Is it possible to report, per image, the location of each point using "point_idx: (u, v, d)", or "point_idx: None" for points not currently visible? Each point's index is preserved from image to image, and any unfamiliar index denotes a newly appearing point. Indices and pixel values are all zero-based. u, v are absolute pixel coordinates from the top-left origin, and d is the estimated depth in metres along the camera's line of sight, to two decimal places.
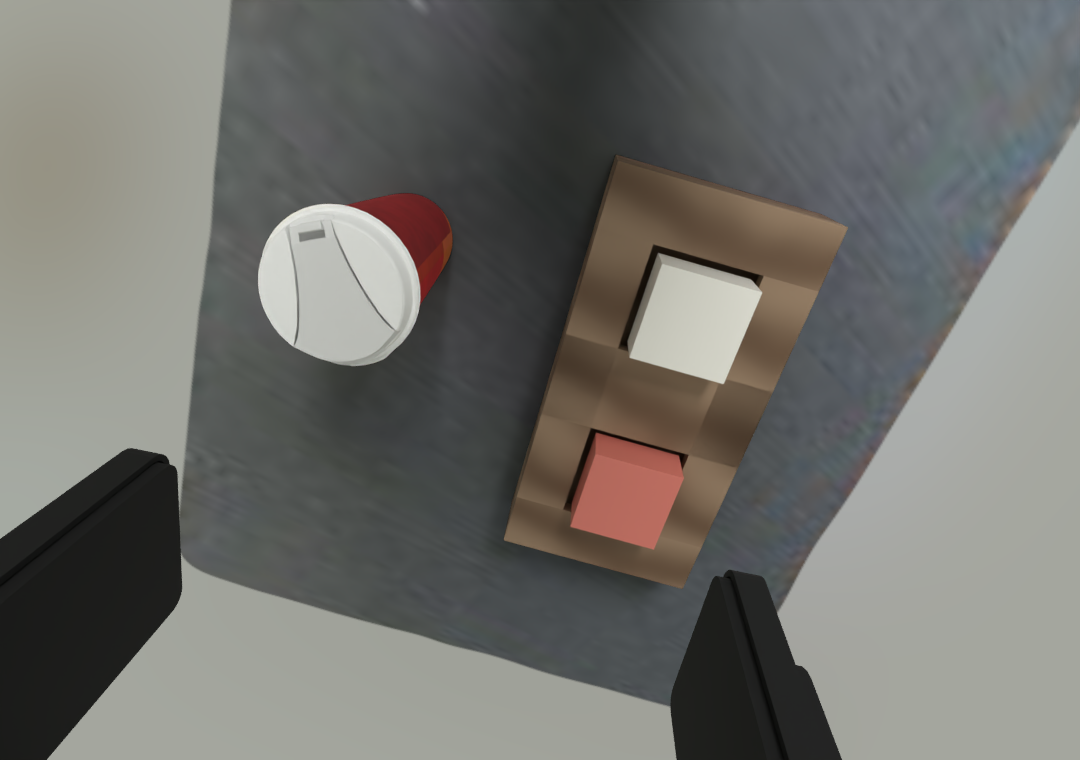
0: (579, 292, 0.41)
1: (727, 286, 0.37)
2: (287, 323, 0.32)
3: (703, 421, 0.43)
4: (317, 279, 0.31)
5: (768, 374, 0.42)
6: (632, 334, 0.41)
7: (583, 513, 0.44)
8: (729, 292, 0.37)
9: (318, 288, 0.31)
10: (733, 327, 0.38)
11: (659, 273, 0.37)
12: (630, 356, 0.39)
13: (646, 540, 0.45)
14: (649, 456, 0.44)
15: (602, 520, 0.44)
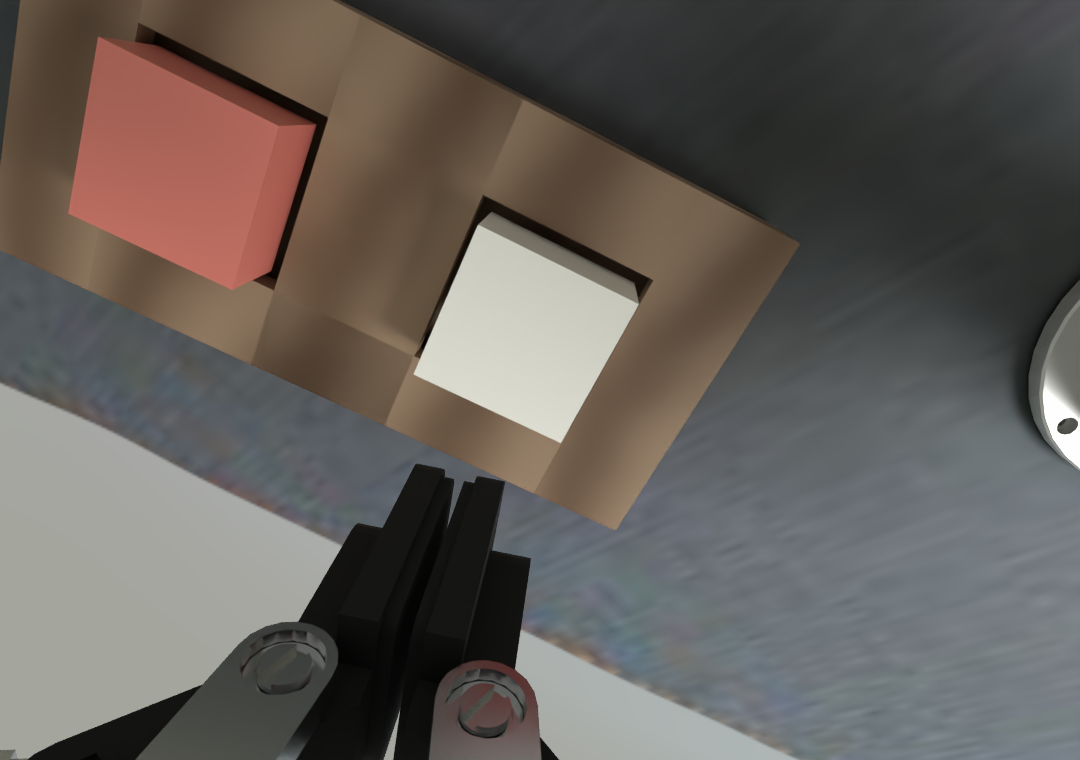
0: (597, 140, 0.22)
1: (579, 396, 0.23)
2: None
3: (337, 321, 0.26)
4: None
5: (414, 422, 0.27)
6: (509, 227, 0.23)
7: (136, 74, 0.21)
8: (569, 398, 0.24)
9: None
10: (510, 399, 0.24)
11: (623, 297, 0.22)
12: (480, 226, 0.21)
13: (88, 201, 0.22)
14: (271, 225, 0.24)
15: (123, 115, 0.21)
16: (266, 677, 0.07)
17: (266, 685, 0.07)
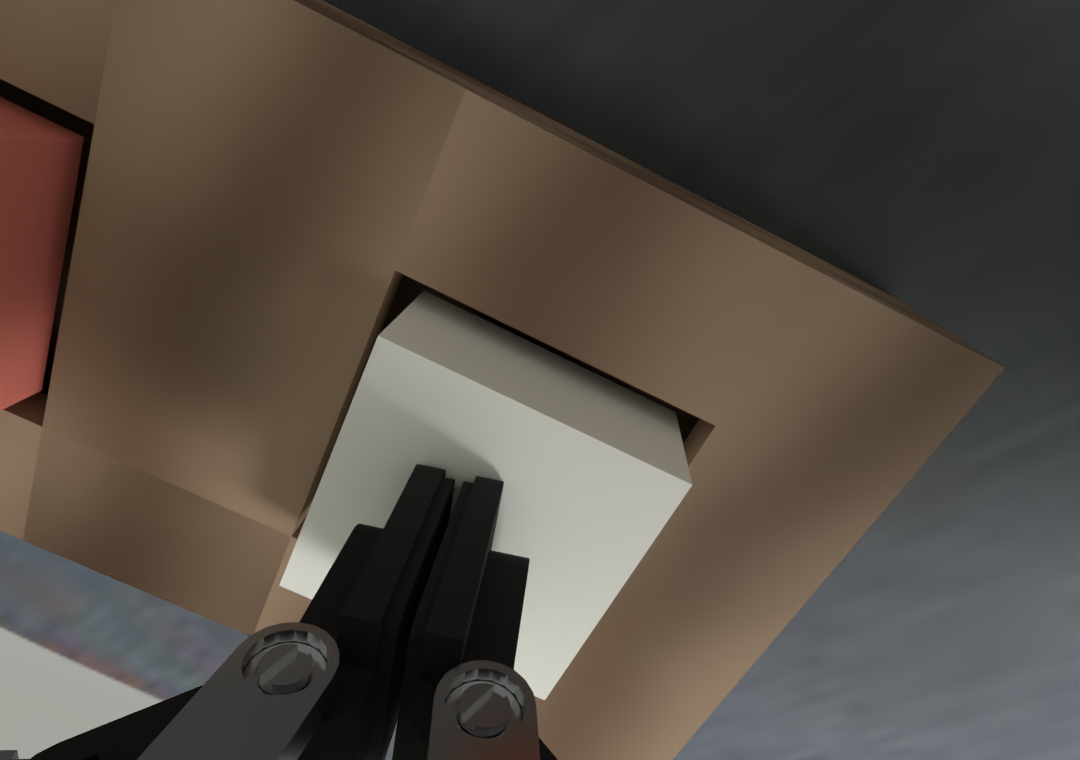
0: (613, 170, 0.11)
1: (577, 631, 0.13)
2: None
3: (156, 478, 0.15)
4: None
5: None
6: (450, 325, 0.13)
7: None
8: (559, 634, 0.13)
9: None
10: None
11: (661, 471, 0.11)
12: (382, 339, 0.11)
13: None
14: (5, 325, 0.13)
15: None
16: (267, 678, 0.07)
17: (267, 686, 0.07)
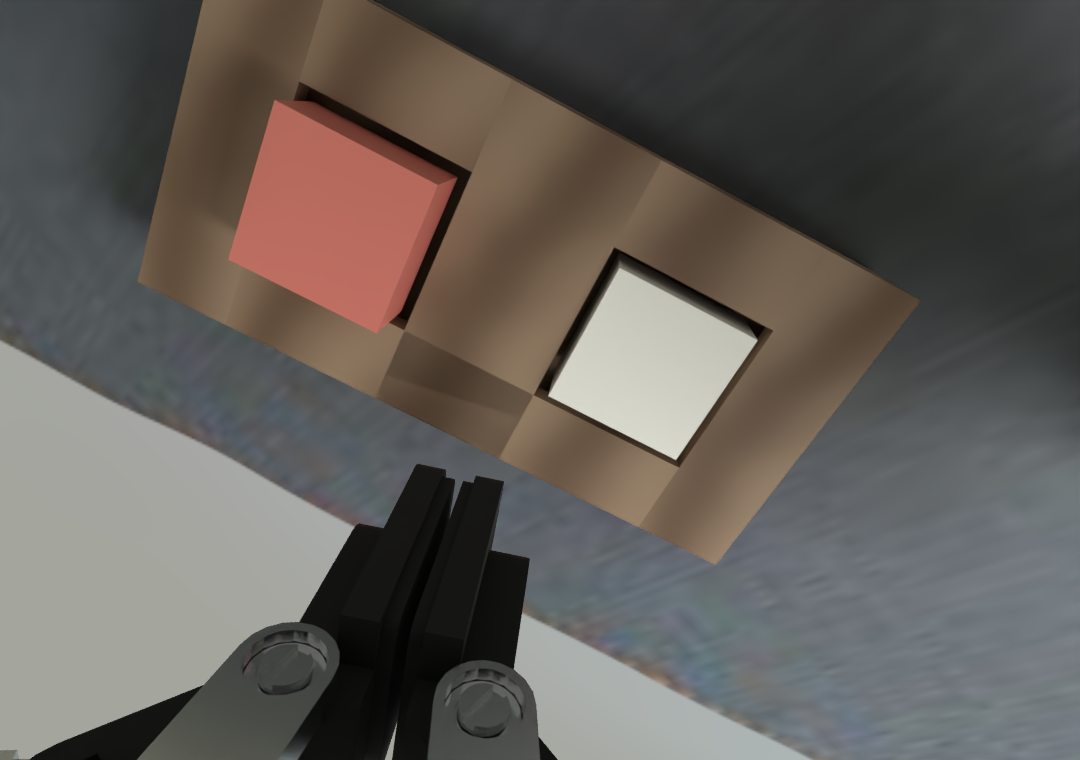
0: (730, 199, 0.24)
1: (696, 419, 0.26)
2: None
3: (462, 360, 0.27)
4: None
5: (528, 456, 0.28)
6: (638, 267, 0.26)
7: (306, 135, 0.22)
8: (687, 421, 0.26)
9: None
10: (634, 420, 0.27)
11: (743, 333, 0.25)
12: (621, 269, 0.24)
13: (248, 248, 0.24)
14: (411, 272, 0.25)
15: (290, 171, 0.22)
16: (268, 678, 0.07)
17: (268, 686, 0.07)
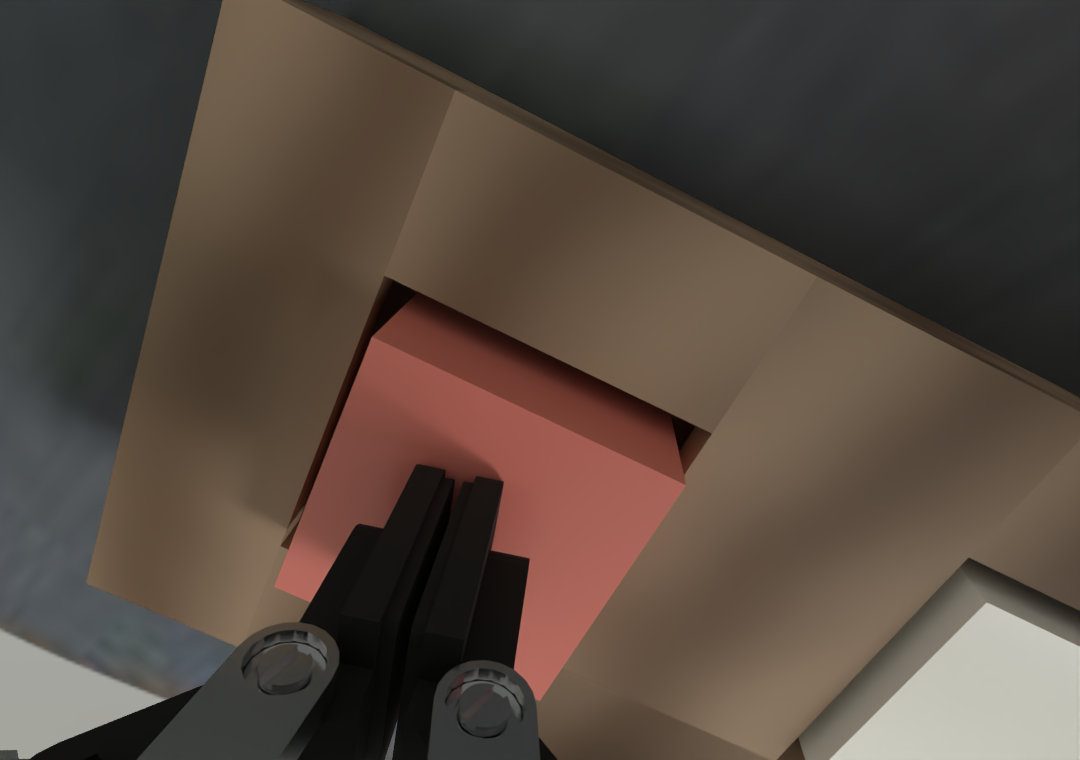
0: None
1: None
2: None
3: (655, 710, 0.16)
4: None
5: None
6: (975, 561, 0.15)
7: (432, 397, 0.11)
8: None
9: None
10: None
11: None
12: (988, 605, 0.13)
13: (312, 572, 0.13)
14: None
15: (397, 456, 0.12)
16: (267, 677, 0.07)
17: (267, 685, 0.07)
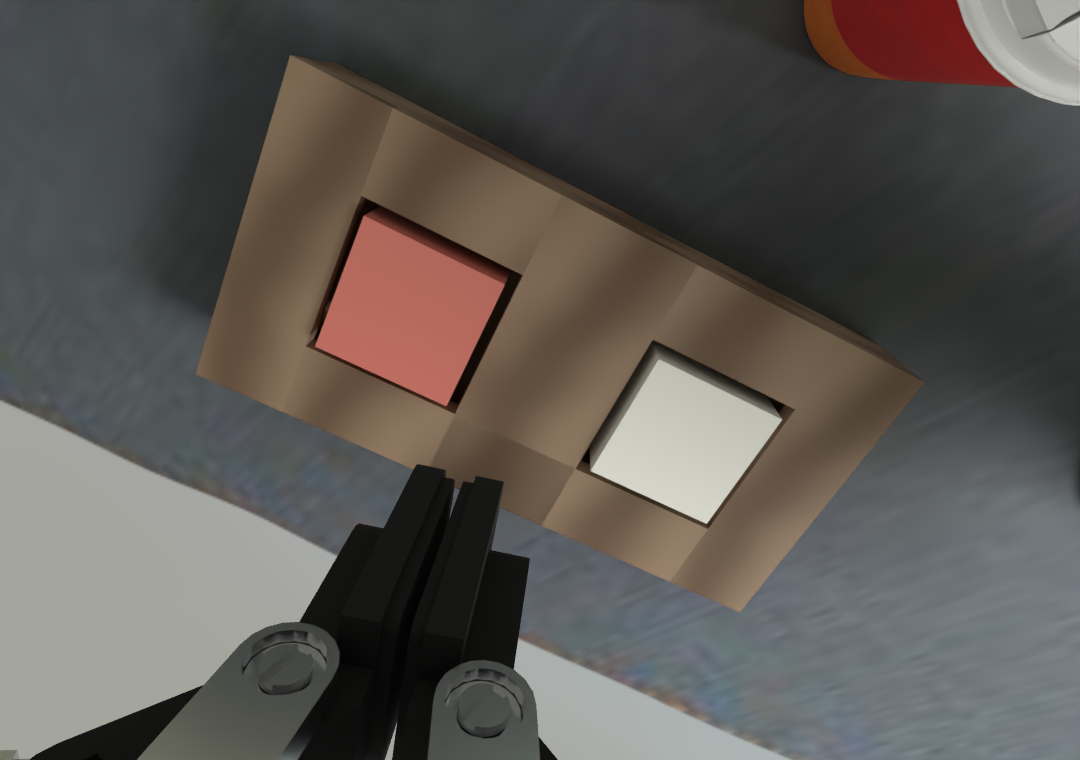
0: (758, 298, 0.26)
1: (726, 488, 0.29)
2: None
3: (509, 439, 0.29)
4: None
5: (568, 522, 0.31)
6: (671, 352, 0.29)
7: (391, 244, 0.25)
8: (717, 490, 0.29)
9: None
10: (669, 490, 0.29)
11: (769, 414, 0.27)
12: (660, 360, 0.27)
13: (333, 337, 0.27)
14: None
15: (375, 273, 0.26)
16: (267, 677, 0.07)
17: (267, 685, 0.07)
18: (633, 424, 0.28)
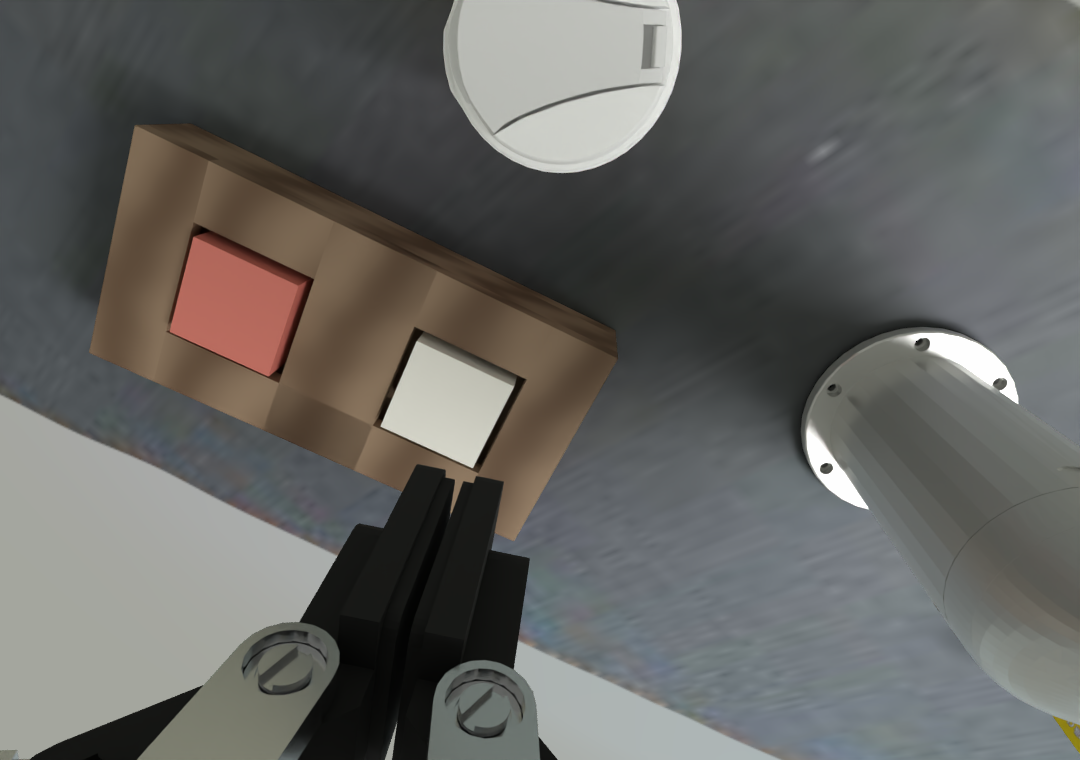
0: (485, 295, 0.35)
1: (482, 439, 0.38)
2: None
3: (321, 402, 0.39)
4: (586, 33, 0.21)
5: (374, 468, 0.40)
6: None
7: (214, 257, 0.35)
8: (476, 441, 0.38)
9: (573, 31, 0.21)
10: (440, 441, 0.38)
11: (504, 382, 0.37)
12: (418, 342, 0.36)
13: (182, 324, 0.37)
14: (291, 335, 0.38)
15: (206, 278, 0.36)
16: (268, 677, 0.07)
17: (268, 685, 0.07)
18: (406, 390, 0.37)
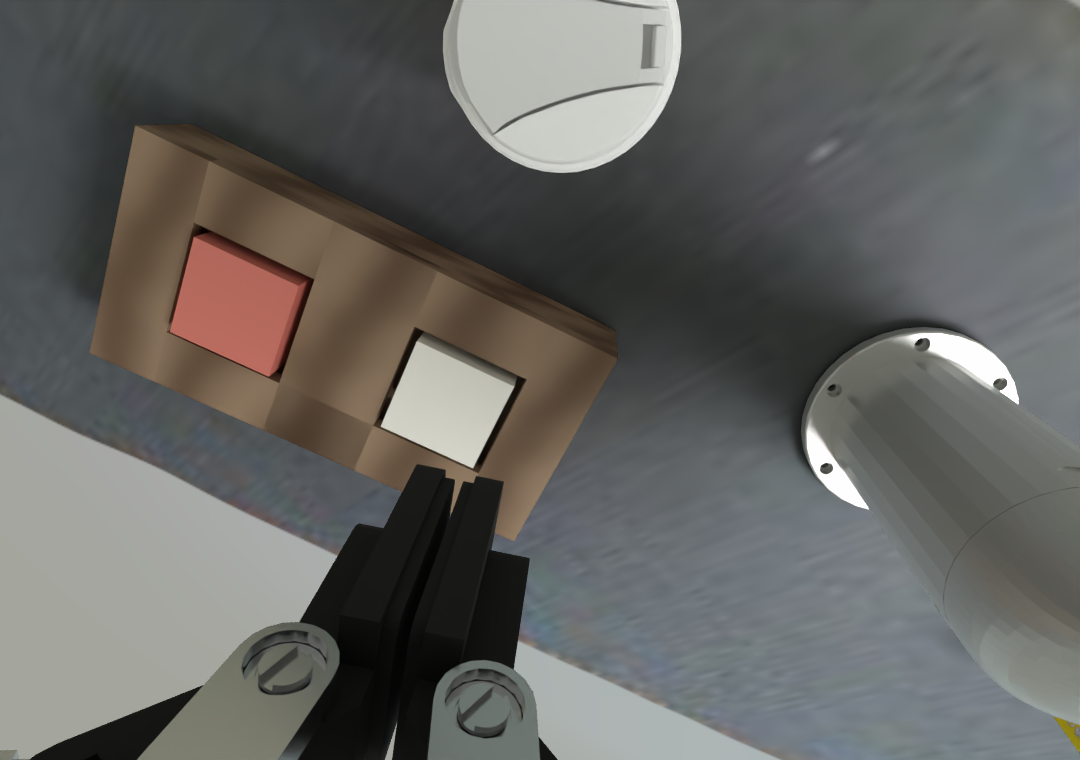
0: (485, 295, 0.35)
1: (482, 440, 0.38)
2: None
3: (321, 402, 0.39)
4: (585, 32, 0.21)
5: (374, 468, 0.40)
6: None
7: (215, 257, 0.35)
8: (476, 441, 0.38)
9: (572, 31, 0.21)
10: (440, 441, 0.38)
11: (504, 382, 0.37)
12: (418, 342, 0.36)
13: (182, 325, 0.37)
14: (292, 335, 0.38)
15: (206, 278, 0.36)
16: (267, 677, 0.07)
17: (267, 685, 0.07)
18: (406, 390, 0.37)
